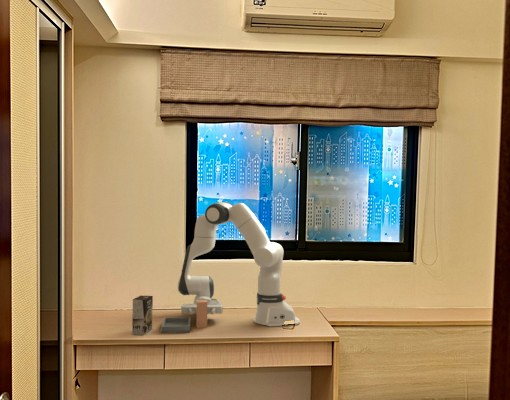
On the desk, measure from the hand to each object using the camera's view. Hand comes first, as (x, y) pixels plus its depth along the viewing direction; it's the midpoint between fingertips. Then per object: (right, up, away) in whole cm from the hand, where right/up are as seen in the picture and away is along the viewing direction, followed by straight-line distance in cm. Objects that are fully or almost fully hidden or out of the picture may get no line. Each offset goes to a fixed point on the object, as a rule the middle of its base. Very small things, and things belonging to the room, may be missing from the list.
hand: (202, 312), depth 250 cm
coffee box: (-26, -7, -10) cm, 29 cm away
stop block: (0, -6, +1) cm, 7 cm away
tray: (-12, -6, -3) cm, 14 cm away
